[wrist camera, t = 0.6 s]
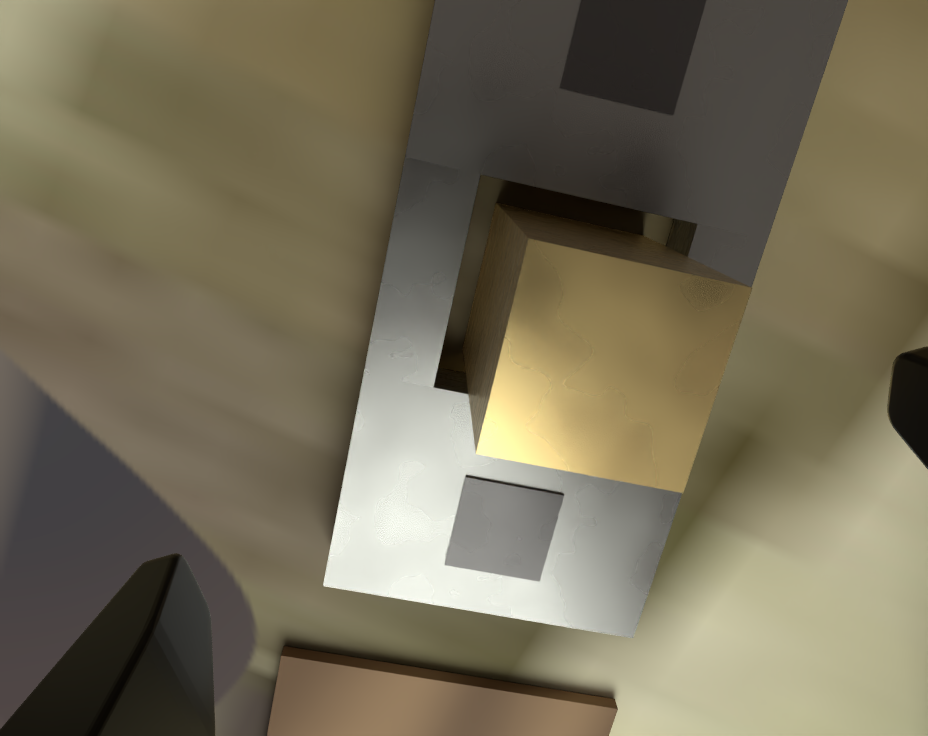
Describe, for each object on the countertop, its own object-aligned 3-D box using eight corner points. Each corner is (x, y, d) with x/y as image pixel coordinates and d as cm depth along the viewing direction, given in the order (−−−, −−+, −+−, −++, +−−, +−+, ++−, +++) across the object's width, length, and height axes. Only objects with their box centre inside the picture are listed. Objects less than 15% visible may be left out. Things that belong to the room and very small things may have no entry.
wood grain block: (643, 235, 22) (752, 287, 14) (602, 376, 23) (683, 493, 16) (495, 202, 22) (528, 238, 14) (462, 348, 23) (475, 453, 15)
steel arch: (821, -25, 20) (864, -43, 18) (618, 601, 26) (634, 640, 24) (460, -121, 19) (464, -151, 17) (331, 551, 25) (322, 587, 23)
